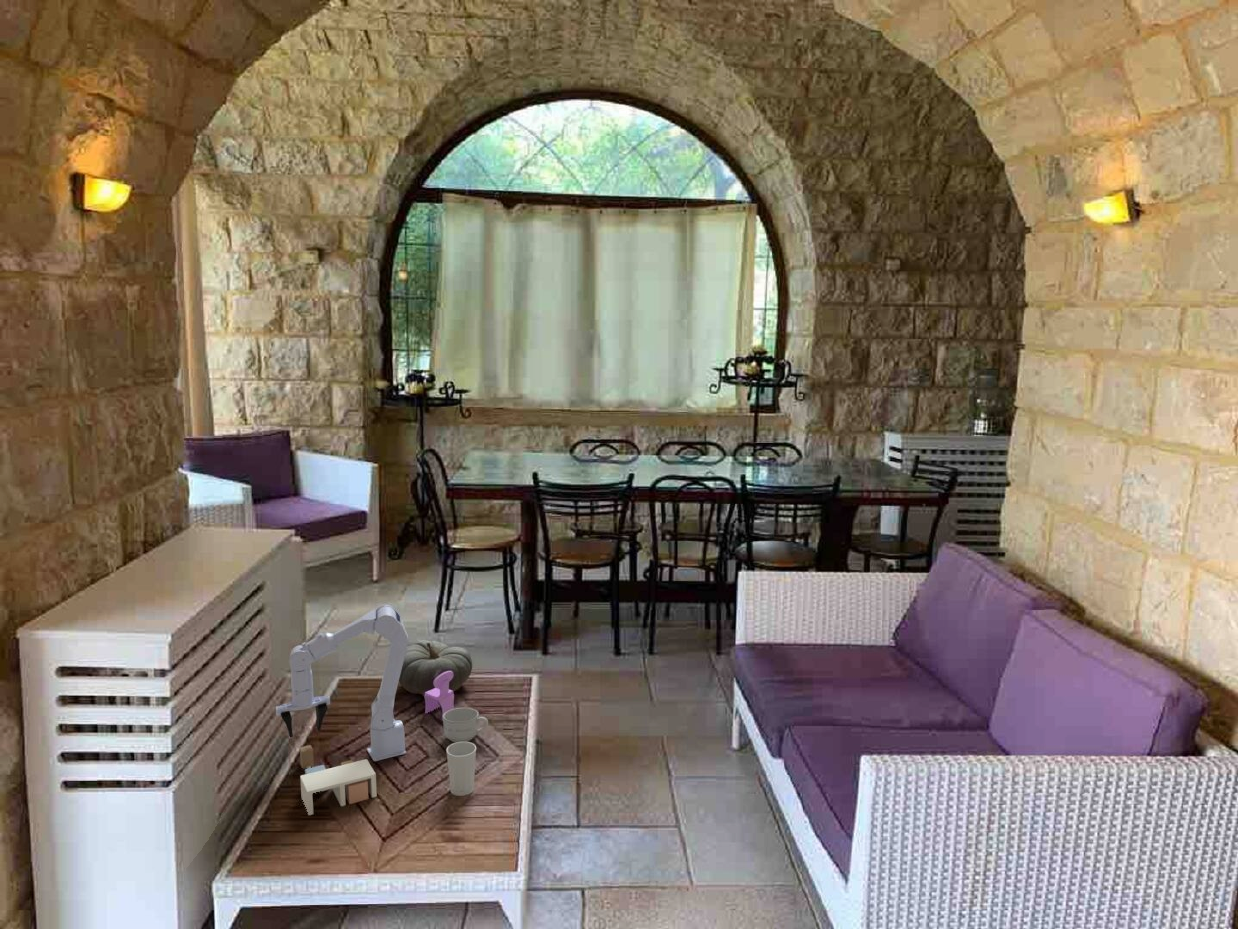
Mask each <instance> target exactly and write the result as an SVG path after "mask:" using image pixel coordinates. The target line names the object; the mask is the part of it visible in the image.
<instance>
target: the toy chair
mask: <svg viewBox="0 0 1238 929" xmlns="http://www.w3.org/2000/svg"><path fill="white" fill-rule="evenodd" d="M452 678H453V672H452V671H446V672H444V673H442V674H440V675H439V676H438V677H436V678H435V680H434V682H433V684H434V686H435V688H434V689H432V690H430V691H427V692H425V695H424V696H423V697H424V701H425V710H424V711H425V712H424V713H425V715H426V713H427V714H428V712H429V713H430V711H431V712H432V711H434V709H435V710H437V709H438V707H439V706H440V707H441V710H442V711H441V712H442V714H441V715H442V716H441V721H443V714H444V713H445V712H447V711H449V710H451V709H455V705H454V702H455V701H454V699H455V694H454V691H452V690H449V682H450V681H451V679H452ZM440 707H439V708H440ZM436 708H437V709H436Z"/></svg>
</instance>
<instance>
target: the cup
mask: <svg viewBox="0 0 1238 929" xmlns="http://www.w3.org/2000/svg"><path fill="white" fill-rule="evenodd" d="M445 751H446V759H447V766H448V767H447V768H448V777H449V778H448V779H449V785H450V791H449V792H450V793H451V795H453V796H456V797H457V796H459V797H463V796H467V795H470V794H472V792H474V790H475V772H476V771H475V770H476V759H477V758H476V757H477V746H476V744H475V743H473V742H470V741H467V742H457V743H456V742H453V743H451V744H449V745H448V746H447V747H446V749H445Z"/></svg>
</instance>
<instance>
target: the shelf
mask: <svg viewBox="0 0 1238 929" xmlns="http://www.w3.org/2000/svg"><path fill="white" fill-rule="evenodd" d="M299 777H300V794H301V797H300V798H301V801H302V800H303V801H302V803H303V802H304V803H303V805H305V806H304V808H305V807H306V808H305V810H306V809H307V810H306V812H308V813H307V815H308V816H312V815H314V802H313V795H314V794H313V793H315V794H317V793H316V792H319V793H321V792H320V791H322V792H325V791H324V790H326V791H329V790H332V792H333V793H334V795H335V798H336V799H337V801H338V803H339V805H340V807H344V806H346V796H345V785H347V784H350V783H354V782H358V781H362V780H367V781H368V794H369V795H370V796H371V798H376V797H378V796H377V794H378V793H377V773H376V772H375V771H374V768H373V767H372V765H371V764H370V762H369V760H368V759H367V758H364V759H362V760H357V761H353V763H349V764H345V765H337V766H334V767H331V768H326V769H325V770H321V771H317V772H313V773H309V774H305V773H304V774H302V775H300V776H299ZM328 789H329V790H328Z"/></svg>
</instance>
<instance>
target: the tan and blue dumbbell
mask: <svg viewBox="0 0 1238 929" xmlns="http://www.w3.org/2000/svg"><path fill="white" fill-rule="evenodd" d="M299 758H300V766H301V769H302V768H303V769H304V768H307V769H305V770H304V775H305V774H309V773H313V772H317V771H321V770H325V769H327V768H326V766H325V765H324V764H321V765H316V766H315V765H314V749H313V747H312V745H311V744H309V745H305V746H300V747H299ZM311 767H312V768H311ZM303 769H302V770H303ZM329 790H330V789H328V790H324V791H323V792H326V791H329Z"/></svg>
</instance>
